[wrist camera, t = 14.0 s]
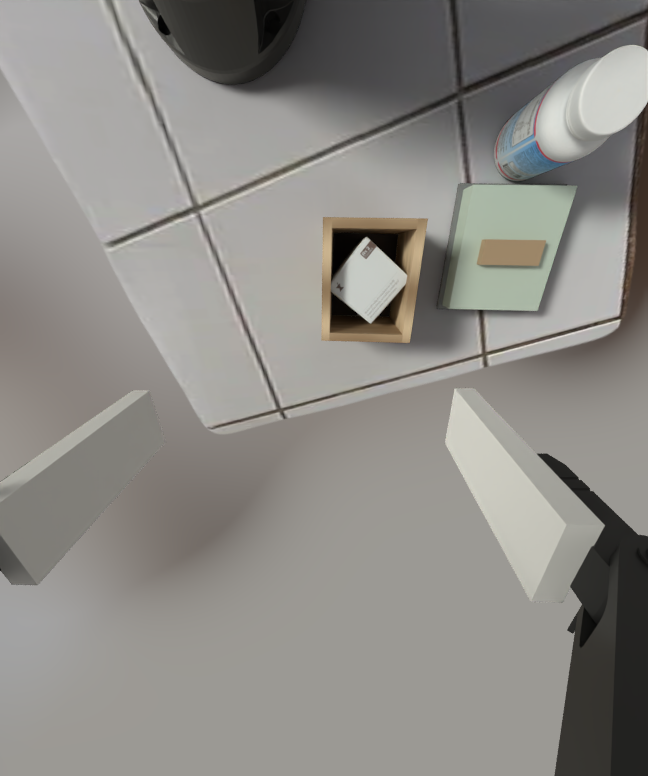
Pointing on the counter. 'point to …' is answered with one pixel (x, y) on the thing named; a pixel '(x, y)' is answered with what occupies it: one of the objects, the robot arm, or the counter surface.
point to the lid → (505, 245)
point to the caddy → (401, 305)
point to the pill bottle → (574, 114)
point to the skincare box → (367, 280)
